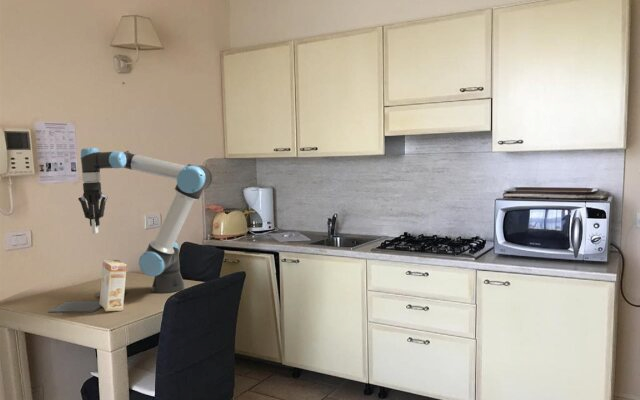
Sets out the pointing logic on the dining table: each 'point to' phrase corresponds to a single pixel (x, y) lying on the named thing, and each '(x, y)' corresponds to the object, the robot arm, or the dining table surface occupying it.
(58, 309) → the mat
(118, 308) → the coffeecake box
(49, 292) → the dining table surface
